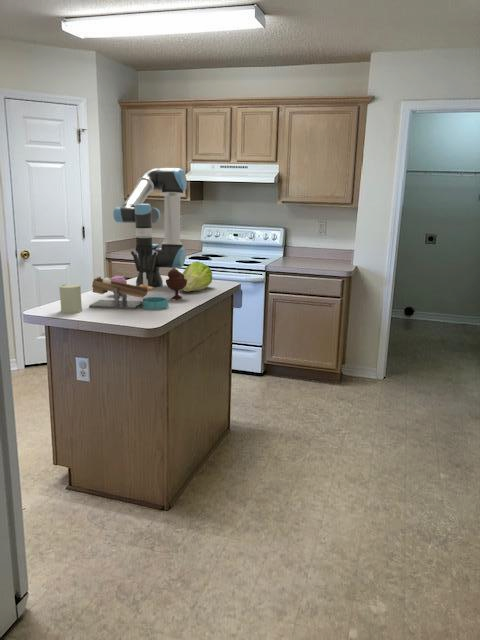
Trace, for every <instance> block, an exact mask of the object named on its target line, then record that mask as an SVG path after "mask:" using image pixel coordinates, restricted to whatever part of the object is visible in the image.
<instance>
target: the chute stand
mask: <svg viewBox="0 0 480 640" xmlns="http://www.w3.org/2000/svg"><path fill="white" fill-rule="evenodd" d="M113 296H114V298H113V299H98V300H96V301H95V302H92V303H91V304H89V305H88V308H91V309H114V310H116V309H117V310H136V309H138V308H139V307H140V306H143V304H142V300H128V295H126V294H122V295H121V297H122V298H121V299H122V300H120V295H119V289H118V288H117V287H115V288H114V293H113Z"/></svg>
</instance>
